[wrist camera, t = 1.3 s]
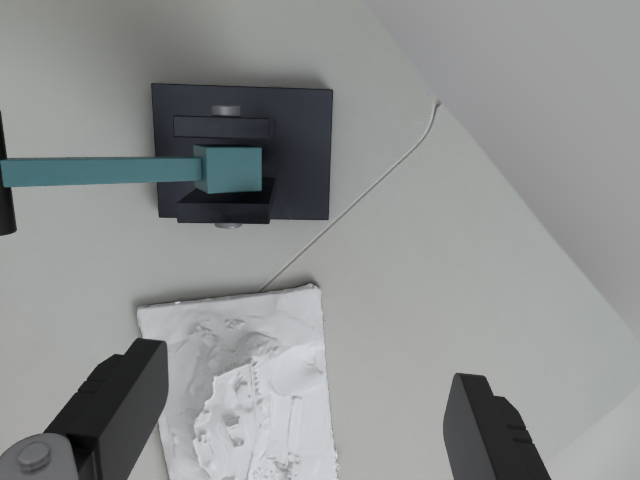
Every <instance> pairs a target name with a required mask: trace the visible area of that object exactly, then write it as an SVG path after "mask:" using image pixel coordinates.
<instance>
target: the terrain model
mask: <svg viewBox="0 0 640 480" xmlns="http://www.w3.org/2000/svg"><path fill="white" fill-rule="evenodd" d="M321 293H322V290H321V288H320V286H319V288H318V287H317V286H316V285H313V284H310V283H309V284H307V285H305V286H300V287H297V288H293V289H292V288H290V289H284V290H278V291H269V292H264V293H256V294H255V293H253V294H244V295H235V296H224V297H216V298H206V299H198V300H193V301H192V300H191V301H190V300H189V301H183V302H180V301H177V302H174V303H173V302H171V303H164V304H155V305H141V306H140V307H138V308H137V309H138V310H137V318H138V326H139V327H140V330H141V333H142V338H144V339H153V340H163V341H166V343H167V350H168V376H169V391H168V397H167V401H166V404H165V407H164V409H163V411H162V413H161V415H160V417H159V419H158V424H159V431H160V437H161V441H162V446H163V451H164V456H165V461H166V464H167V469H168V474H169V478H170V480H339V479H338V477H337V471H336V469H337V468H338V467H339V465H338V462H336V460H337V457H338V454H337V453H338V452H337V449H336V448H335V447H334V438H333V434H332V432H333V429H332V427H331V426H332V425H331V416H330V402H329V392H328V390H329V389H328V379H327V371H326V360H325V344H324V338H325V337H324V331H323V330H324V329H323V316H322V315H323V310H322V308H321ZM323 305H324V304H323ZM324 324H325V320H324ZM338 469H339V468H338Z"/></svg>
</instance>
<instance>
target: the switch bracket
mask: <svg viewBox="0 0 640 480" xmlns="http://www.w3.org/2000/svg"><path fill="white" fill-rule="evenodd" d="M151 89H152V107H153V124H154V141H155V157H169V156H194V149H193V145H194V144H246V145H252V146H258V147H261V148H262V190H261V191H255V192H234V193H213V194H208V193H206V192H204V191H202V190H200V189H198V188H196V187H195V181H175V182H157V193H158V211H159V217H160V218H177V222H178V223H215V226H216V227H219V228H237V227H240V226H242V224H269V223H270V219H287V220H328V219H329V192H330V162H331V133H332V104H333V90H332V89H303V88H274V87H245V86H216V85H187V84H158V83H152V84H151Z"/></svg>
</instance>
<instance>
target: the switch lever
mask: <svg viewBox="0 0 640 480" xmlns="http://www.w3.org/2000/svg"><path fill="white" fill-rule="evenodd" d="M193 149H194V156H169V157H64V158H7V153H6V146H5V139H4V131H3V124H2V117H1V111H0V236H2V235H8V234H11V233H14V232H16V230H17V227H16V220H15V213H14V205H13V198H12V190H11V187H28V186H58V185H87V184H116V183H145V182H175V181H195V187H196V188H198V189H200V190H202V191H204V192H206V193H208V194H213V193H234V192H255V191H261V190H262V148H261V147H258V146H252V145H246V144H194V145H193Z"/></svg>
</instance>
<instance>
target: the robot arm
mask: <svg viewBox="0 0 640 480" xmlns="http://www.w3.org/2000/svg"><path fill="white" fill-rule="evenodd" d="M168 391H169V376H168V350H167V343H166V341H163V340H153V339H144V338H137V339H136V340H135V341H134V342H133V344H132V345H131V346H130V348H129V349H128V350H127V352H126V353H125V354H124V355H118V354H114V355H113V356H111V357H110V358H108V359H106V360H105V361H103V362H102V363H100V364H99V365H97V367H96V368H95V369H94V370H93V372H92V373H91V374H90V375H89V377H88V378H87V381H85V382H84V383H83V384H82V385H81V386H80V388H79V389H78V392H77V393H75V394H74V395H73V396H72V398H71V399H70V400H69V401H68V403H67V404H66V405H65V406H64V408H63V409H62V410H61V411H60V412H59V414H58V415H57V416H56V417H55V419H54V420H53V421H52V422H51V424H50V425H49V426H48V427H47V429H46V430H45V431H44V432H43V433H42V434H37V435H33V436H30V437H27V438H25V439H23V440H20V441H18V442H17V443H15V444H14V445H12V446H11V447H9V448H8V449H7V450H6V451H5V452H4V453H3V454H2V455H1V457H0V480H127V479H128V477H129V475H130V473H131V471H132V469H133V467H134V465H135V463H136V461H137V459H138V458H139V456H140V454H141V452H142V450H143V448H144V446H145V444H146V442H147V440H148V438H149V436H150V434H151V433H152V431H153V429H154V427H155V425H156V423H157V421H158V419H159V417H160V415H161V413H162V411H163V409H164V407H165V404H166V401H167V397H168ZM443 435H444V442H445V446H446V450H447V454H448V458H449V462H450V466H451V470H452V474H453V477H454V480H551V478H550V476H549V474H548V472H547V470H546V468H545V466H544V464H543V462H542V459H541V457H540V455H539V453H538V451H537V449H536V447H535V445H534V444H532V439H531V437H530V435H529V432H528V430H526V426H525V424H524V422H523V420H522V418H521V416H520V414H519V412H518V411H517V410H516V409H515V408H514V407H513V406H512V405H511V404H510V403H509V402H508V401H507V399H506V398H505V397H500V396H494V395H493V393H492V390H491V388H490V386H489V383H488V381H487V379H486V377H485V376H482V375H472V374H463V373H456V374H455V375H454V378H453V381H452V385H451V390H450V394H449V398H448V402H447V407H446V411H445V415H444V421H443Z"/></svg>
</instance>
